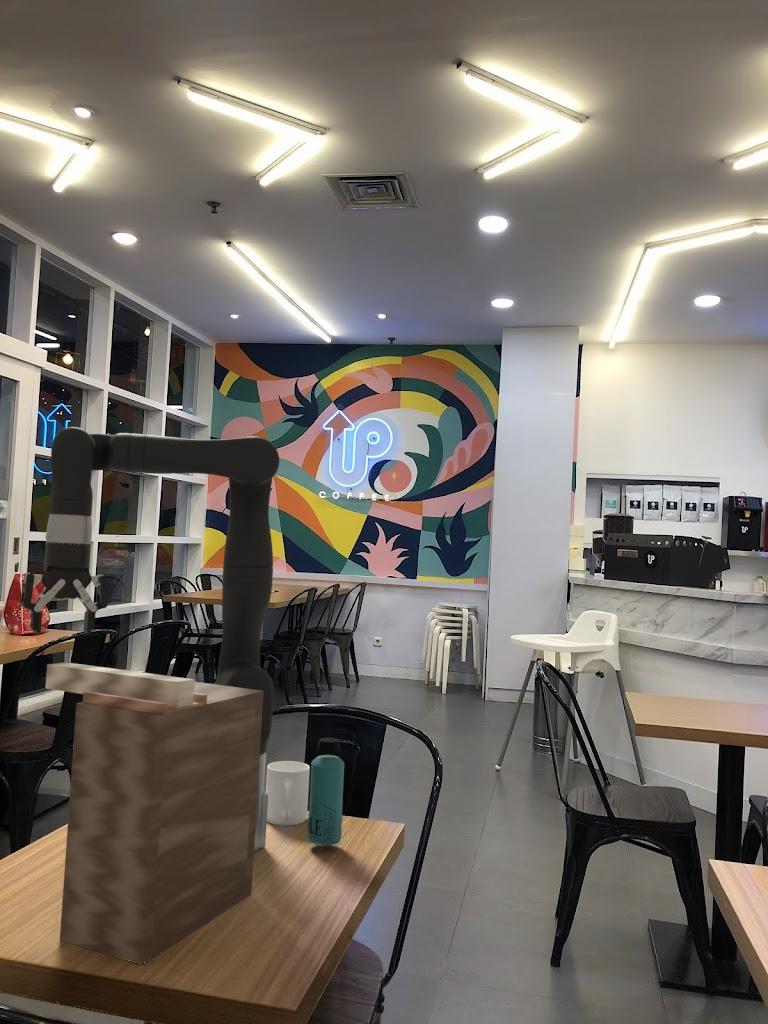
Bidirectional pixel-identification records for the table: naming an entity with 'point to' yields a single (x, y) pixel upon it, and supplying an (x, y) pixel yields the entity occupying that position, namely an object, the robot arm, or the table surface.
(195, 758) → the brown wooden box
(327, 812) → the beverage bottle
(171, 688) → the cream long bar
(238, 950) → the table surface
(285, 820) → the mug
